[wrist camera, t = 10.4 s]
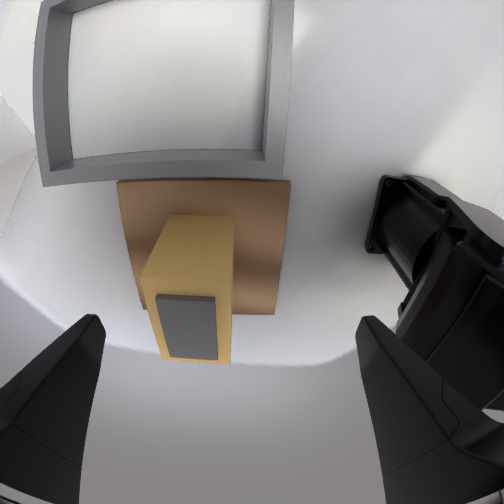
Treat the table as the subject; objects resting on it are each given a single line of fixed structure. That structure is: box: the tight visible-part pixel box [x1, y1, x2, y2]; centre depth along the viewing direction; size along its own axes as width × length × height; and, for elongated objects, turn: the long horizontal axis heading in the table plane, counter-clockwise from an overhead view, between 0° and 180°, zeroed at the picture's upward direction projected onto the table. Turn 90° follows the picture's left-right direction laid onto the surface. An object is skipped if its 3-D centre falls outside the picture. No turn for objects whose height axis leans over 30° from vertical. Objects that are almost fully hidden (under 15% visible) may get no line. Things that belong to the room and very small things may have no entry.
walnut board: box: [116, 178, 291, 315], centre depth 21 cm, size 12×12×1 cm
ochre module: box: [140, 215, 235, 364], centre depth 17 cm, size 7×4×7 cm, turn 177°
